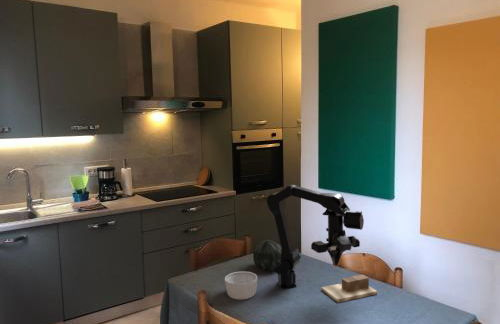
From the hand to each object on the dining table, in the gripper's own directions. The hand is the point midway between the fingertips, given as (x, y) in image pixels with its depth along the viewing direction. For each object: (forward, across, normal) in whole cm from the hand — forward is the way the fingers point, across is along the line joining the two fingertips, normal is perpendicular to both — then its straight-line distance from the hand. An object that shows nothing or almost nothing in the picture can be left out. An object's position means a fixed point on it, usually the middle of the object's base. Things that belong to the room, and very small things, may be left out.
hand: (335, 265), depth 158 cm
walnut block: (+9, +4, 0) cm, 10 cm away
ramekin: (+12, -34, +16) cm, 40 cm away
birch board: (+12, +6, 0) cm, 13 cm away
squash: (+12, -13, +37) cm, 41 cm away
